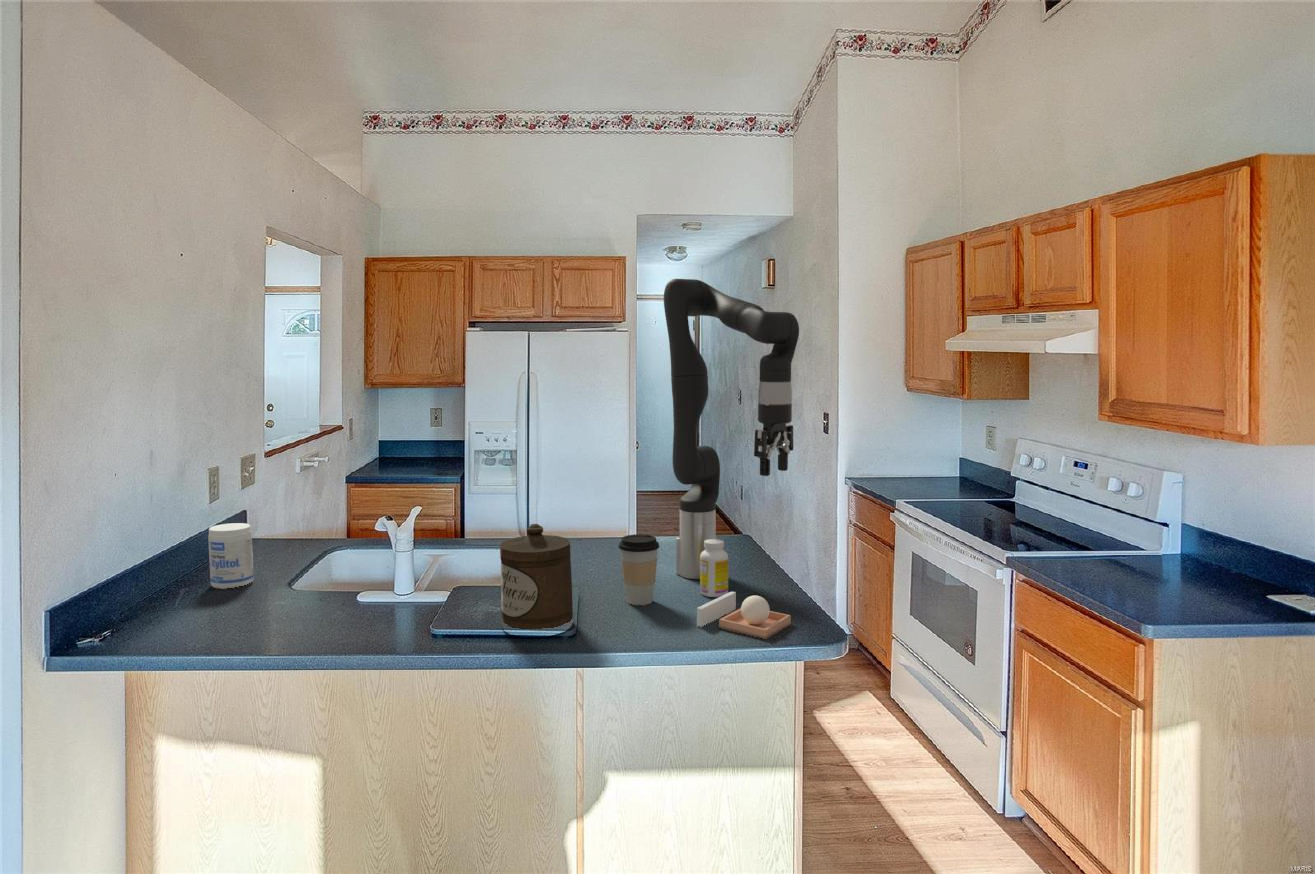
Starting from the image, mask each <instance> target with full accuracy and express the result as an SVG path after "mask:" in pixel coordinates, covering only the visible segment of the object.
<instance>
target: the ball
mask: <svg viewBox="0 0 1315 874" xmlns="http://www.w3.org/2000/svg"><path fill="white" fill-rule="evenodd" d="M740 608H741V614H742V616H743V618H744V619H745V620H746V621H747V622H748V623H750V624H754V625H758V624H761V623H763V622H764V621H766V619H767V618H768V616H769V613H770V611H771V610H770V605H769V603H768V601H767V600H766V599H765V598H764V597H762V596H759V595H750V596H747V597H746V598H745V599H744V600H743V601H742V603H741V607H740Z"/></svg>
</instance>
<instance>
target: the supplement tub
mask: <svg viewBox="0 0 1315 874" xmlns="http://www.w3.org/2000/svg"><path fill="white" fill-rule="evenodd" d="M252 538H253V535H252V527H251V524H249V523H244V522H236V523H235V522H232V523H231V522H230V523H229V522H228V523H222V524H217V525H213V526H211V527H209V528H208V556H209V557H208V558H209V579H210V585H211V587H212V588H215V589H218V588H219V590H220V589H221V590H228V589H227V588H233V589H235V588H234V587H237V588H240V587H239V586H243V587H245V586H244V585H246V586H248V585H250V584H252V583H253V582H254V562H253V561H254V560H253V559H254V558H253V557H254V556H253V539H252ZM251 582H252V583H251ZM249 583H250V584H249ZM247 584H248V585H247Z"/></svg>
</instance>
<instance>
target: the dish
mask: <svg viewBox="0 0 1315 874" xmlns="http://www.w3.org/2000/svg"><path fill="white" fill-rule="evenodd" d="M791 618H792V616H791V614H786V613H781V612H777V611H773V610H770V613H769V616H768V618H767V619H766V621H764V622H763V623H761V624H758V625H754V624H750V623H748V622H747V621H746V620H745V619H744V618H743V616H742V614H741V607H740V608H738V609H737V610H734V611H732V612H730V613H728V614H726V615H725V616H723V617H721V618H719V619H718V620H719V621H718V629H719V628H723V629H726V630H725V631H727V630H730V631H729V632H731V631H733V632H732V633H735V632H737V634H739V633H743V634H746V635H745V636H748V635H750V636H749V637H752V636H753V637H752V638H756V637H760V638H763V639H762V640H764V639H766V640H768V639H769V638H771V637H772V635H773V636H774V635H776V634H778V633H779V632H781V631H783V630H784V629H786V628H787V627H789V626H790V624H791V623H792V621H791V620H792V619H791ZM783 628H784V629H783ZM723 629H722V630H723ZM775 633H776V634H775ZM743 634H742V635H743ZM760 638H759V639H760ZM767 638H768V639H767Z"/></svg>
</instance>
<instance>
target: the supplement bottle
mask: <svg viewBox="0 0 1315 874" xmlns="http://www.w3.org/2000/svg"><path fill="white" fill-rule="evenodd" d="M704 546H705V550H704V551H703V552H702V553H701V555H700V579H699V580H700V581H699V583H700V584H699V585H700V587H699V588H700V589H699V590H700V591H699V592H700V595H703V596H704V597H708V598H719V597H721V596H723V595H725V594H727V593H729V554H728V553H727V552H726V551H725V550H724V547H725V541H724V540H723V539H718V538H715V539H708V540H705V541H704Z"/></svg>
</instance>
